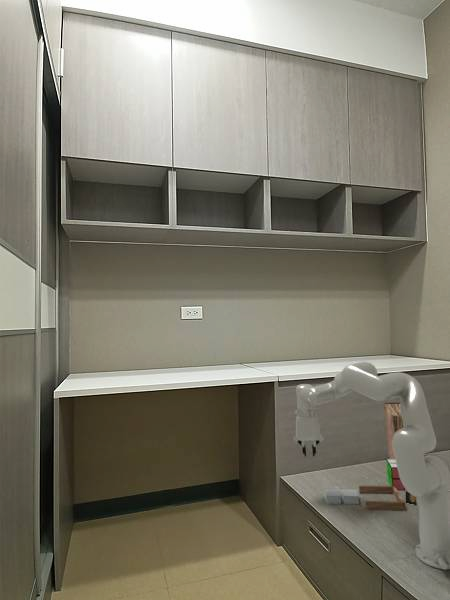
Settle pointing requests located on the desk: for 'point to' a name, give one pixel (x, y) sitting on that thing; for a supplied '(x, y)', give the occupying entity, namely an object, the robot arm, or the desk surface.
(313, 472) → the desk surface
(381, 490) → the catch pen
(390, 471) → the puzzle cube
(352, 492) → the tile
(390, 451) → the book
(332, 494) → the tile trail
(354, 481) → the desk surface
